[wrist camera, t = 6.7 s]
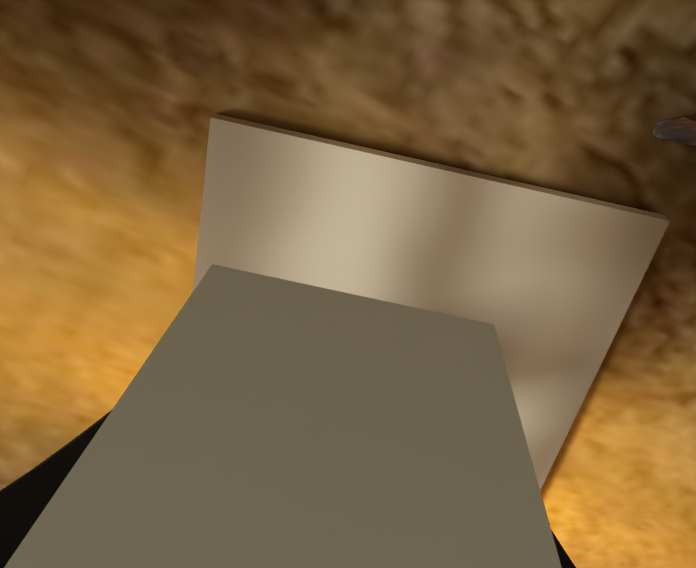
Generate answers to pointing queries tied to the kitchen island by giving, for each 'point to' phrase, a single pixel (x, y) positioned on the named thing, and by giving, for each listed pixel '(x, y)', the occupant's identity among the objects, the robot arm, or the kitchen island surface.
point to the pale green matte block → (304, 444)
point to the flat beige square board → (435, 251)
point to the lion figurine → (677, 130)
